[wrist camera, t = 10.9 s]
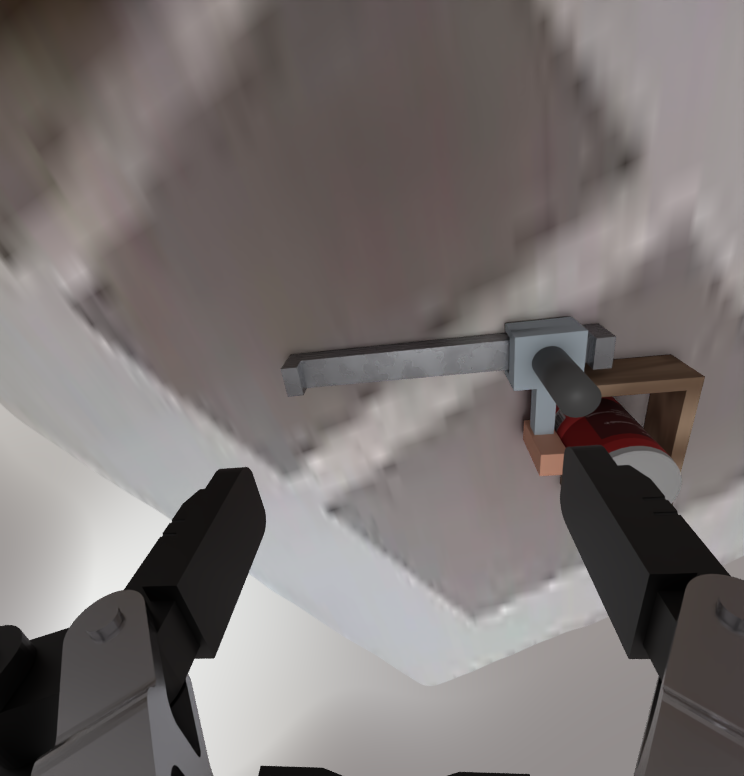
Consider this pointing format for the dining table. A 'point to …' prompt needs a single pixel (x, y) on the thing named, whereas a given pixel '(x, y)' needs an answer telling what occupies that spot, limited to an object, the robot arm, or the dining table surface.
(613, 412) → the canned food
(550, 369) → the grey block with post
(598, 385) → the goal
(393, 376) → the rail
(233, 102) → the dining table surface
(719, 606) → the robot arm
